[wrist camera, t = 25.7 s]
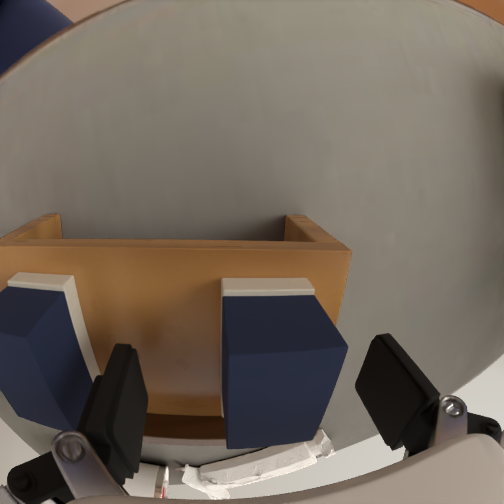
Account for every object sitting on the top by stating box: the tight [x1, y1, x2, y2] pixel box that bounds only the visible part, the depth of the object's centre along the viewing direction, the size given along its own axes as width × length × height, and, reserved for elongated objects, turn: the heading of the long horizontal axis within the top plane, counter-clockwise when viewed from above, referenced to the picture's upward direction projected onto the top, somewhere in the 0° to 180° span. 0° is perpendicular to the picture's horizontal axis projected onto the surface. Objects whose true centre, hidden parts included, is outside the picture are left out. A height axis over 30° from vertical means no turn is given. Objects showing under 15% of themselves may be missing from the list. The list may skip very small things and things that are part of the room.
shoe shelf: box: [0, 214, 352, 446], centre depth 13 cm, size 10×16×8 cm, turn 86°
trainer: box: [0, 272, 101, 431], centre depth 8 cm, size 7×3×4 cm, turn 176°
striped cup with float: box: [123, 462, 169, 499], centre depth 20 cm, size 10×8×12 cm
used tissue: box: [175, 429, 336, 500], centre depth 24 cm, size 11×18×4 cm, turn 103°
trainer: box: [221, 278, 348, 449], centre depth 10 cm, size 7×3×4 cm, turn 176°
